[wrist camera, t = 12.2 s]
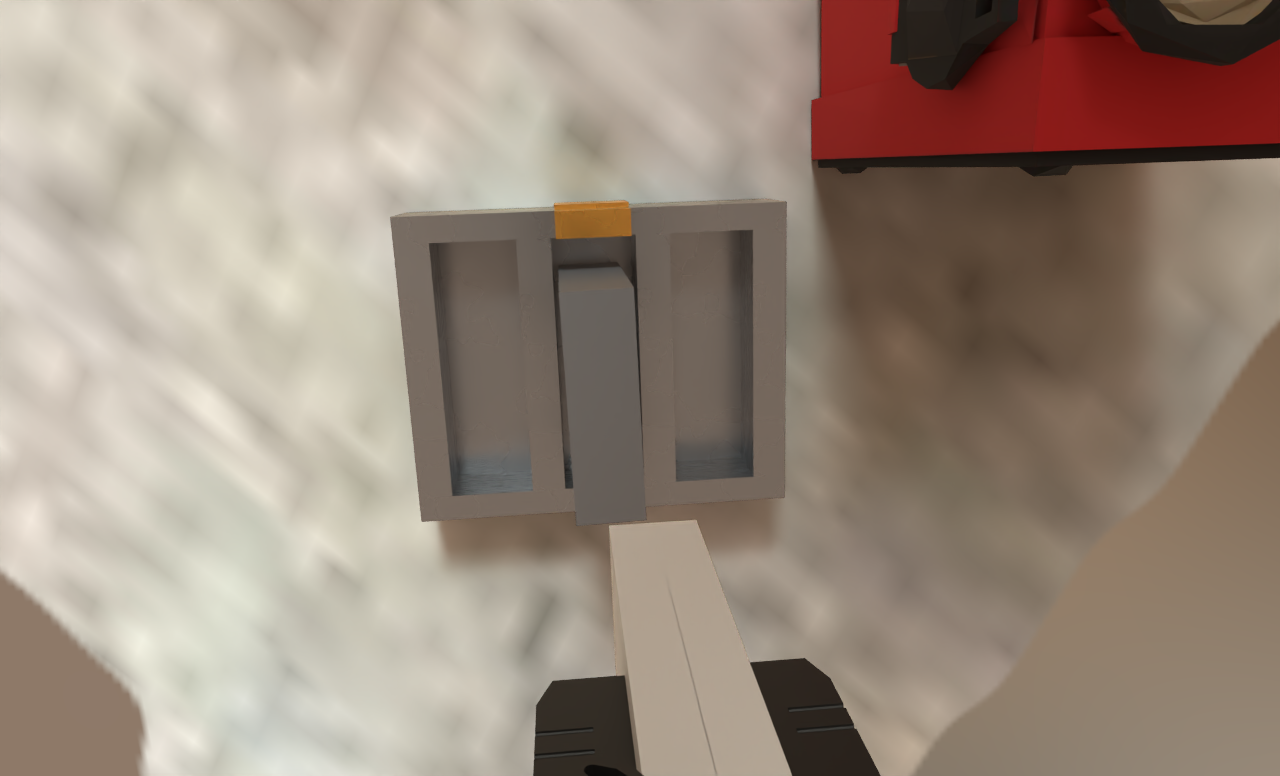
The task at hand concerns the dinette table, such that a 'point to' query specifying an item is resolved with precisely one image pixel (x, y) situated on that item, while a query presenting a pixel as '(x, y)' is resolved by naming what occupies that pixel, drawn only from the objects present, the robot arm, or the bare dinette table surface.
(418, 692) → the dinette table surface
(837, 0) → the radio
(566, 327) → the panel
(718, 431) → the rack
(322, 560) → the dinette table surface
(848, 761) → the robot arm
